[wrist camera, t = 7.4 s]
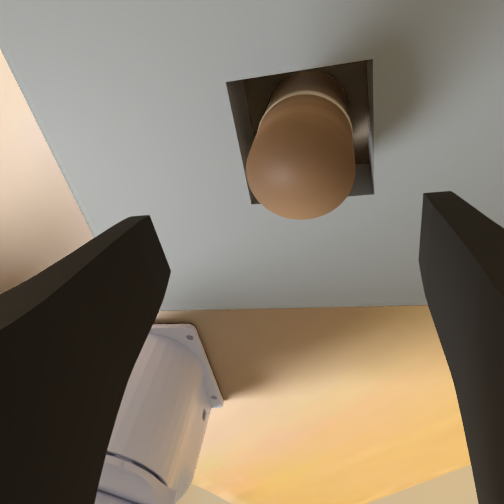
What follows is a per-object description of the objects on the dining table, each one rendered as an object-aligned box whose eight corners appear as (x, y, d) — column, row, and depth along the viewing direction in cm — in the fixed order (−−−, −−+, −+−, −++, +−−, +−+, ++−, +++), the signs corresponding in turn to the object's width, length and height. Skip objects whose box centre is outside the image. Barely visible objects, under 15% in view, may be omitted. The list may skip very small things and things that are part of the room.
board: (541, 261, 21) (567, 302, 18) (149, 277, 26) (130, 311, 24) (702, -290, 10) (810, -356, 8) (-6, -81, 15) (-66, -84, 13)
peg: (351, 147, 19) (358, 216, 14) (273, 156, 20) (255, 223, 15) (348, 63, 17) (354, 111, 12) (261, 76, 17) (234, 126, 13)
